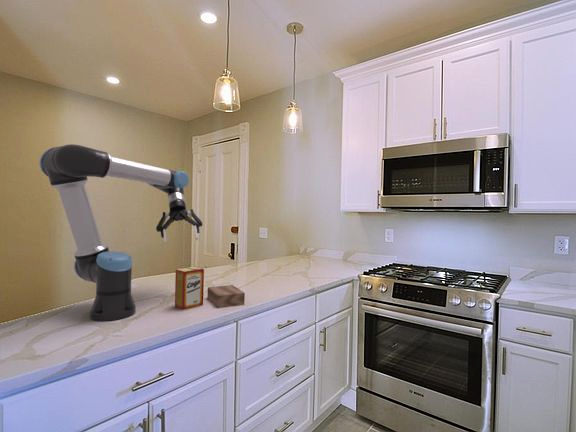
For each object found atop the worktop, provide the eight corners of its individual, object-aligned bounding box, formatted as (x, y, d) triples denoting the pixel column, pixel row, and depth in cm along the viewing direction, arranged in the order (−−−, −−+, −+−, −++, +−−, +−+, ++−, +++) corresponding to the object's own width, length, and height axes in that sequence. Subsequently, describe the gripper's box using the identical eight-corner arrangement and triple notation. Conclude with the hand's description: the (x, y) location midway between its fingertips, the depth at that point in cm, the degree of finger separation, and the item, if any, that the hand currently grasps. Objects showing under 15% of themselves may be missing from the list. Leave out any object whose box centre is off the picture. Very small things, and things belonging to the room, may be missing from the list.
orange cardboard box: (182, 309, 124) (183, 270, 123) (174, 306, 128) (175, 268, 128) (203, 305, 131) (204, 268, 131) (194, 301, 135) (195, 266, 135)
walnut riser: (217, 307, 127) (218, 295, 127) (207, 298, 141) (207, 287, 141) (244, 304, 133) (244, 292, 133) (231, 295, 147) (232, 284, 147)
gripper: (203, 206, 155) (209, 241, 144) (150, 211, 147) (152, 249, 136) (203, 196, 149) (209, 232, 138) (148, 202, 141) (150, 240, 130)
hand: (181, 240), depth 137 cm, fingers open, 13 cm apart
